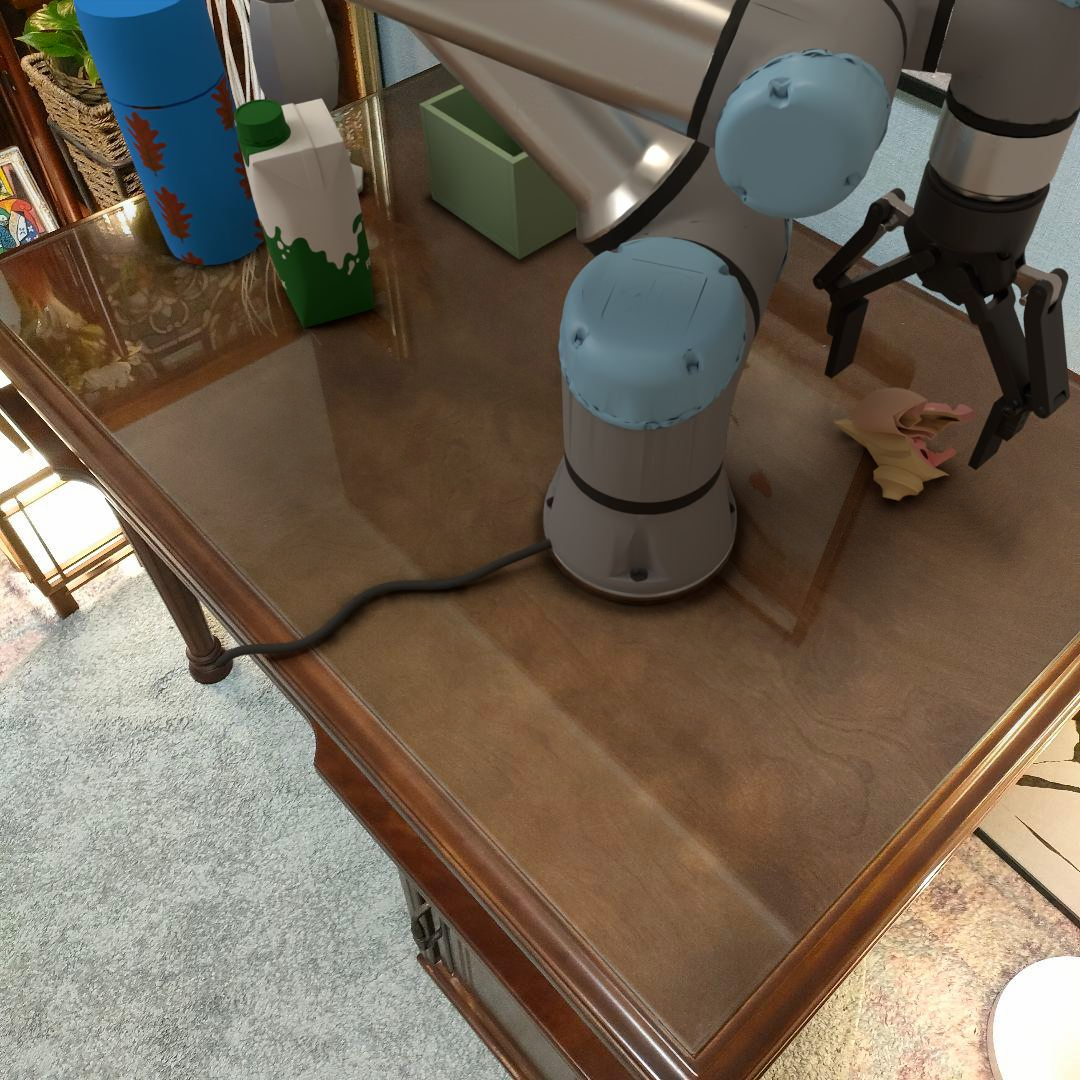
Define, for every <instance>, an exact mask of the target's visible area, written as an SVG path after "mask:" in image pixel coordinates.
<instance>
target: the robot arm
mask: <svg viewBox="0 0 1080 1080" xmlns="http://www.w3.org/2000/svg"><path fill="white" fill-rule="evenodd" d="M343 1H344V2H346V3H350V4H352V5H354V6H357V7H359V8H363V9H365V10H367V11H370V12H372V13H375V14H377V15H380V16H382V17H384V18H387V19H390V20H392V21H395V22H396V23H399V24H402V25H404V26H405V27H406V28H407V29H408V30H409V31H410V32H411V33H412V34H413V35H414V37H415V38H416V39H418V41H419V42H420V43H421V44H422V45H423V46H424V47H425V48H426V49H427V50H428V51H429V52H430V53H431V54H432V56H433V57H434V58H436V60H437V61H438V62H439V63H440V64H441V65H442V66H443V67H444V68H445V69H446V71H448V72H449V74H451V76H452V77H453V78H454V79H455V80H456V81H457V82H458V83H459V85H462V86H463V87H464V88H465V89H466V90H467V91H468V92H469V93H470V94H471V95H472V97H473V98H474V99H475V100H476V101H477V102H478V103H479V104H480V105H481V106H482V107H483V108H484V109H485V110H486V111H487V112H488V113H489V115H490V116H491V117H492V118H493V119H494V120H495V121H496V122H497V123H498V124H499V125H500V126H501V127H502V128H503V129H504V130H505V131H506V133H507V134H508V135H509V136H510V137H511V138H512V139H513V140H514V141H515V142H516V143H517V144H518V145H519V146H520V147H521V148H522V149H523V151H524V152H525V153H526V154H527V155H528V156H529V157H530V158H531V159H532V160H533V161H534V162H535V163H536V164H537V165H538V166H539V167H540V169H541V170H542V171H543V172H544V173H545V174H546V175H547V176H548V177H549V178H550V179H551V180H552V181H553V182H554V183H555V184H556V185H557V187H558V188H559V189H560V190H561V191H562V192H563V193H564V194H565V195H566V196H567V197H568V198H569V199H570V200H571V201H572V202H573V203H574V204H575V207H576V228H575V229H576V234H575V235H576V239H577V240H578V241H579V242H580V243H581V244H582V245H583V246H584V247H585V249H587V250H588V251H589V252H590V253H591V255H593V257H594V258H592V259H591V260H590V261H589V262H588V263H587V264H586V265H585V266H584V267H583V268H582V269H581V270H580V272H579V273H577V275H576V277H575V279H574V280H573V282H572V283H571V284H570V287H569V289H568V291H567V294H566V296H565V300H564V303H563V308H562V316H561V321H560V325H559V340H558V344H557V345H558V346H557V347H558V353H559V354H558V355H559V363H560V364H561V365H560V371H561V395H562V396H561V397H562V398H561V399H562V400H561V401H562V424H563V426H562V428H563V430H562V431H563V456H562V458H561V460H560V461H559V464H558V467H557V468H556V470H555V473H554V475H553V477H552V479H551V482H550V484H549V486H548V489H547V491H546V494H545V498H544V503H543V510H542V528H543V529H542V531H543V537H544V539H543V540H542V541H539V542H537V543H534V544H531V545H530V546H527V547H525V548H522V549H520V550H517V551H515V552H512V553H509V554H507V555H505V556H503V557H500V558H498V559H496V560H494V561H491V562H489V563H488V564H485V565H484V566H481V567H479V568H478V569H475V570H473V571H471V572H467V573H465V574H462V575H458V576H456V577H455V576H454V577H450V578H445V579H436V580H435V579H434V580H433V579H432V580H420V579H419V580H411V579H408V580H394V581H388V582H384V583H381V584H378V585H374V586H372V587H370V588H368V589H365V590H364V591H362V592H360V593H358V594H356V596H354V597H353V598H352V599H350V600H349V601H348V602H347V603H346V604H345V605H344V606H343V607H342V608H340V610H339V611H337V613H335V614H334V615H333V617H332V618H330V619H329V620H328V621H327V622H326V623H325V624H324V625H323V626H322V627H320V628H319V629H317V630H316V631H313V633H310V634H309V635H306V636H305V637H303V638H300V639H297V640H294V641H288V642H283V643H281V642H280V643H252V644H243V645H238V646H236V647H233V648H230V649H229V650H227V651H225V652H224V653H223V654H221V655H220V656H219V657H218V658H217V659H216V661H215V662H214V666H215V667H216V668H222V667H225V666H226V665H227V664H228V663H230V662H231V661H232V660H234V659H237V658H240V657H242V656H243V657H244V656H247V655H273V654H275V655H277V654H278V655H279V654H287V653H293V652H297V651H302V650H304V649H306V648H309V647H310V646H313V645H315V644H317V643H319V642H320V641H321V640H323V639H324V638H326V637H327V636H328V635H330V634H331V633H332V632H333V631H334V630H335V629H337V627H338V626H340V624H342V622H344V620H346V618H348V617H349V616H350V614H352V613H353V612H354V611H355V610H356V609H358V607H360V606H362V604H364V603H365V602H367V601H369V600H370V599H373V598H375V597H377V596H381V595H382V594H387V593H391V592H396V591H438V590H447V589H453V588H458V587H461V586H464V585H467V584H470V583H473V582H476V581H477V580H480V579H482V578H484V577H486V576H489V575H490V574H492V573H494V572H496V571H499V570H501V569H503V568H505V567H507V566H510V565H512V564H515V563H517V562H519V561H522V560H524V559H527V558H529V557H532V556H534V555H537V554H539V553H542V552H544V551H546V550H547V551H548V554H549V555H550V558H551V559H552V561H553V562H554V564H555V565H556V567H557V568H558V569H559V570H560V571H561V573H562V574H564V576H565V577H566V578H568V579H569V580H570V581H571V582H573V583H574V584H575V585H577V586H578V587H579V588H581V589H583V590H585V591H587V592H588V593H590V594H592V595H594V596H597V597H599V598H602V599H606V600H609V601H613V602H618V603H623V604H624V603H625V604H630V605H631V604H632V605H653V604H662V603H667V602H671V601H675V600H679V599H681V598H684V597H687V596H689V595H691V594H693V593H695V592H697V591H699V590H700V589H702V588H703V587H706V585H708V584H709V583H710V582H711V581H713V579H715V578H716V577H717V576H718V575H719V573H720V572H721V571H722V570H723V568H724V567H725V566H726V564H727V562H728V561H729V559H730V557H731V554H732V552H733V548H734V544H735V540H736V535H737V528H738V515H737V504H736V499H735V496H734V493H733V490H732V488H731V485H730V481H729V477H728V474H727V472H726V468H725V465H724V459H725V453H726V447H727V441H728V434H729V427H730V422H731V415H732V409H733V404H734V400H735V396H736V394H737V389H738V386H739V383H740V380H741V377H742V374H743V372H744V369H745V367H746V363H747V361H748V358H749V355H750V352H751V350H752V347H753V344H754V341H755V339H756V337H757V334H758V333H759V332H758V331H759V329H760V326H761V324H762V320H763V318H764V316H765V315H764V314H765V312H766V310H767V306H768V304H769V301H770V298H771V296H772V293H773V290H774V288H775V285H776V284H777V283H778V281H779V279H780V277H781V276H782V274H783V271H784V269H785V267H786V263H787V260H788V255H789V250H790V242H791V237H792V232H793V222H794V219H795V220H796V219H805V218H810V217H814V216H817V215H820V214H823V213H826V212H827V211H829V210H831V209H833V208H836V206H838V205H839V204H841V203H842V202H844V201H845V200H846V199H847V198H848V197H850V195H852V193H854V191H855V190H856V189H857V188H858V187H859V185H860V183H861V182H862V181H863V180H864V179H865V177H866V176H867V173H868V171H869V169H870V166H871V163H872V161H873V159H874V156H875V154H876V152H877V151H878V149H879V148H880V147H881V144H882V143H883V141H884V139H885V137H886V134H887V132H888V129H889V128H888V127H889V120H890V116H891V113H892V106H893V103H894V99H895V95H896V92H897V87H898V84H899V82H900V77H901V73H902V70H906V71H913V72H923V73H929V74H930V73H931V74H936V73H942V74H949V75H950V79H949V82H948V86H947V89H946V94H945V97H944V101H943V104H942V106H941V107H942V108H941V111H940V114H939V117H938V121H937V123H936V127H935V131H934V134H933V136H932V140H931V144H930V147H929V150H928V160H927V162H926V164H925V165H924V170H923V173H922V177H921V180H920V184H919V188H918V191H917V194H916V197H915V198H916V199H915V201H914V206H913V207H912V205H909V204H908V203H906V198H907V196H906V193H905V191H904V190H903V189H902V188H899V187H894V188H893V189H891V190H890V191H888V192H886V193H885V194H883V195H882V196H881V197H879V198H878V199H876V200H874V201H873V202H871V203H870V205H869V207H868V210H867V213H866V215H865V217H864V221H863V223H862V225H861V226H860V227H859V228H858V230H856V232H855V233H854V234H853V235H852V236H851V237H850V238H849V239H848V240H847V241H846V242H845V243H844V244H843V245H842V246H841V248H840V249H839V250H838V251H836V253H835V254H834V255H832V257H831V258H830V259H829V260H828V261H827V262H826V263H825V265H823V266H822V267H821V269H820V270H818V271H817V273H816V274H815V275H814V276H813V277H812V284H813V286H814V288H816V289H817V290H818V291H822V290H824V291H825V292H826V293H827V294H828V295H829V301H830V309H829V313H828V318H827V324H826V327H825V328H826V333H827V335H829V336H831V337H832V340H831V344H830V348H829V351H828V355H827V361H826V365H825V369H824V373H823V374H824V376H826V377H828V378H829V379H831V380H832V379H833V378H834V377H836V376H838V375H839V374H841V372H843V371H844V370H846V369H847V368H849V366H851V365H853V364H854V361H855V356H856V353H857V350H858V349H857V348H858V346H859V345H858V344H859V341H860V337H861V333H862V329H863V326H864V322H865V318H866V314H867V310H868V306H869V302H870V299H868V298H867V297H865V296H867V295H870V294H872V293H874V292H877V291H879V290H880V289H883V288H885V287H887V286H889V285H892V284H894V283H898V282H900V281H902V280H905V279H907V278H909V277H912V276H914V275H916V276H917V278H918V279H919V280H920V281H921V285H920V286H921V287H923V288H925V289H926V290H929V291H930V292H933V293H938V294H940V295H942V296H943V298H945V299H946V300H948V301H949V302H950V303H952V304H955V305H956V306H958V307H961V306H962V305H964V308H965V311H966V313H967V316H968V318H969V321H970V323H971V324H972V325H974V326H977V328H978V330H979V333H980V335H981V336H980V337H981V338H982V341H983V344H984V346H985V349H986V351H987V355H988V357H989V359H990V363H991V365H992V368H993V370H994V373H995V376H996V379H997V381H998V384H999V387H1000V390H1001V392H1002V395H1001V396H1000V397H999V398H998V399H997V400H995V401H994V402H993V404H992V407H991V408H990V411H989V413H988V415H987V418H986V420H985V423H984V425H983V427H982V429H981V431H980V434H979V437H978V439H977V442H976V444H975V446H974V448H973V451H972V454H971V456H970V458H969V460H968V462H967V466H968V467H970V468H971V469H973V470H974V471H977V470H978V469H979V468H981V467H982V466H983V465H984V464H985V463H987V462H988V461H989V460H990V459H991V458H992V457H993V456H994V455H996V454H997V453H998V452H999V449H1000V447H1001V445H1002V443H1003V441H1005V442H1008V441H1010V440H1012V439H1013V438H1014V437H1015V436H1016V435H1017V434H1018V433H1020V432H1021V431H1022V430H1023V429H1024V427H1025V425H1026V423H1027V420H1028V418H1029V416H1030V414H1031V412H1033V413H1034V415H1035V416H1036V417H1037V418H1038V419H1042V420H1046V419H1048V418H1049V417H1050V416H1051V415H1053V414H1054V413H1055V412H1056V411H1057V410H1058V409H1060V408H1061V407H1062V406H1063V405H1064V404H1065V403H1067V402H1068V400H1069V399H1070V397H1071V392H1070V391H1071V390H1070V381H1069V379H1070V378H1069V370H1068V369H1069V368H1068V357H1067V348H1066V347H1067V345H1066V336H1065V335H1066V334H1065V325H1064V323H1065V322H1064V313H1063V303H1062V302H1063V299H1064V296H1065V293H1066V290H1067V286H1068V282H1069V277H1070V276H1069V273H1068V272H1067V271H1066V270H1065V269H1064V268H1062V267H1056V268H1053V269H1052V270H1051V271H1050V272H1046V271H1043V270H1041V269H1039V268H1035V267H1032V266H1030V265H1027V259H1026V248H1027V246H1028V243H1029V241H1030V239H1031V238H1032V235H1033V234H1034V230H1035V228H1036V225H1037V222H1038V220H1039V218H1040V215H1041V213H1042V210H1043V208H1044V205H1045V203H1046V200H1047V198H1048V195H1049V193H1050V189H1051V182H1053V180H1054V177H1055V175H1056V174H1057V171H1058V169H1059V166H1060V164H1061V161H1062V159H1063V156H1064V153H1065V151H1066V149H1067V146H1068V143H1069V141H1070V139H1071V136H1072V134H1073V131H1074V129H1075V126H1076V124H1077V121H1078V117H1079V115H1080V0H343ZM899 227H903V230H902V231H903V236H904V240H905V243H906V245H907V248H908V249H907V250H908V251H907V252H906V253H903V254H901V255H899V256H898V257H895V258H894V259H891V260H889V261H887V262H885V263H883V264H880V265H879V266H877V267H875V268H873V269H871V270H869V271H866V272H865V273H862V274H860V275H856V276H855V277H853V278H852V279H851V278H850V277H849V276H848V275H847V274H846V273H848V272H849V271H850V269H851V268H853V266H855V265H856V263H858V262H859V260H861V259H862V258H863V257H864V256H865V255H866V253H868V251H870V250H871V249H872V248H873V246H875V245H876V244H877V242H878V241H879V240H881V239H882V237H884V236H885V234H887V233H891V232H892V233H893V231H895V230H896V229H898V228H899ZM1013 285H1015V286H1017V287H1018V289H1019V292H1020V298H1019V299H1018V304H1019V305H1020V306H1022V307H1024V309H1023V318H1022V319H1023V321H1022V322H1023V328H1022V325H1021V322H1020V320H1019V317H1018V314H1017V311H1016V309H1015V308H1016V307H1015V304H1016V302H1017V297H1016V293H1015V290H1014V288H1013ZM991 296H992V298H991V299H990V301H988V302H986V300H985V299H986V298H989V297H991Z"/></svg>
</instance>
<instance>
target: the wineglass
mask: <svg viewBox="0 0 1080 1080" xmlns="http://www.w3.org/2000/svg"><path fill="white" fill-rule="evenodd" d="M248 21H249V22H248V23H249V24H248V25H249V27H248V28H249V36H250V44H251V45H250V46H251V52H252V61H253V65H254V69H255V73H256V76H257V80H258V84H259V88H260V90H261V91H262V93H263V95H264V97H265V99H268V100H273V101H276V102H277V103H279V104H280V105H281V106H283V105H287V104H291V103H293V104H294V105H296V104H300V103H304V102H308V101H313V100H317V99H322V100H323V102H324V104H325V105H326V107H327V109H328V111H329V113H330V114H331V113H332V111H333V110H334V109H335V108H336V107H337V106H338V102H339V98H338V97H339V79H340V58H339V54H338V49H337V43H336V38H335V35H334V32H333V29H332V25H331V23H330V20H329V17H328V14H327V11H326V9H325V6H324V3H323V1H322V0H249V20H248ZM351 165H352V169H353V173H354V178H355V183H356V188H357V192H358V195H359V194H360V193H362V192H363V191H364V168H363V167H362V166H360V165H356V164H354V163H351Z"/></svg>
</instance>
